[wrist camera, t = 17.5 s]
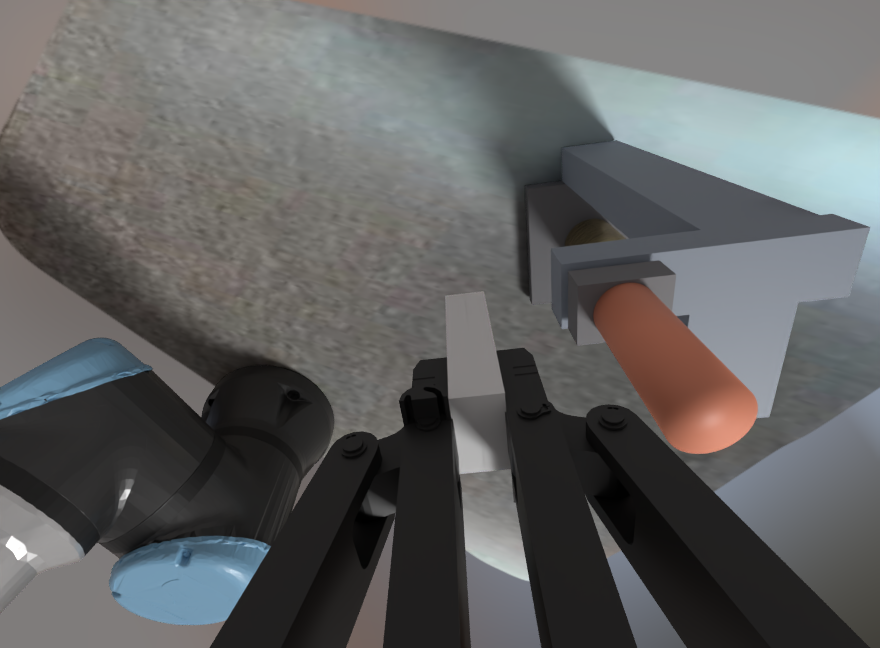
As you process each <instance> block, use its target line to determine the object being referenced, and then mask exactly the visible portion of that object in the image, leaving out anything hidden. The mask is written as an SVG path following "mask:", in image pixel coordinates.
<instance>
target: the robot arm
mask: <svg viewBox="0 0 880 648" xmlns="http://www.w3.org/2000/svg"><path fill="white" fill-rule="evenodd" d="M445 304H446V337H447V357H446V358H437V359H428V360H420V361H419V363H418V364H417V365H416V367H415V368H414V369H413V381H412V388H411V389H409V390H407V391H406V392H405V393H404V394H402V395H401V398H400V400H399V404H400V408H401V413H402V418H403V423H404V427H403V428H402V429H401V430H400V431H398V432H397V433H395V434H393V435H391V436H388V437H385V438H382V439H379V440H377V438H376V437H375V436H374V435H372V434H371V433H367V432H353V433H350V434H347V435H344V436H343V437H341V438H340V439H338V440H337V441H336V442H335V443H334V444H333V445H332V446H331V448H330V450H329V451H328V453H327V455H326V456H325V458H324V460H323V461H322V463H321V465H320V467H319V468H318V470H317V471H316V473H315V475H314V476H313V478H312V479H311V481H310V483H309V484H308V486H307V488H306V490H305V491H304V493H303V494H302V496H301V498H300V500H299V501H298V503H297V504H296V506H295V508H294V509H293V506H294V503H295V500H296V496H297V493H298V490H299V487H300V484H301V481H302V480H303V478H304V477H305V476H306V475H307V473H308V472H309V471H310V470H311V468H312V467H313V466H314V464H316V463H317V462H318V461H319V459H321V457H322V456H323V455H324V453H325V452H326V450H327V448H328V446H329V443H330V440H331V437H332V433H333V429H334V415H333V411H332V408H331V405H330V403H329V401H328V400H327V398H326V396H325V395H324V394H323V393H322V391H321V390H320V389H319V388H318V387H317V386H316V385H314V384H313V383H312V382H311V381H309V380H308V379H306V378H305V377H303V376H301V375H299V374H297V373H295V372H293V371H290V370H287V369H284V368H279V367H274V366H250V367H245V368H241V369H238V370H236V371H233V372H231V373H230V374H228V375H226V376H225V377H224V378H223V379H221V380H220V381H219V382H218V384H217V385H216V386H215V388H214V389H213V391H212V392H211V393H210V395H209V396H208V398H207V400H206V402H205V404H204V407H203V411H202V417H200V416H199V415H198V414H197V413H196V412H195V411H194V410H192V409H191V407H190V406H188V405H187V404H186V403H185V402H184V401H183V400H182V399H181V398H180V397H179V396H178V395H177V394H176V393H175V392H174V391H173V390H172V389H171V388H170V387H169V386H167V384H165V382H164V381H162V380H161V379H160V378H159V377H158V376H157V375H156V374H155V373H154V372H153V371H152V367H151V366H149V365H145V364H143V363H142V362H141V361H140V360H138V358H136V357H135V356H134V355H133V354H132V353H130V352H129V351H128V350H127V349H126V348H124V347H123V346H122V345H121V344H120V343H118V342H117V341H115V340H111V339H108V338H94V339H90V340H87V341H85V342H83V343H81V344H79V345H77V346H75V347H73V348H71V349H69V350H67V351H65V352H64V353H62V354H60V355H58V356H56V357H54V358H52V359H51V360H49V361H47V362H45V363H43V364H42V365H40V366H38V367H36V368H34V369H32V370H30V371H29V372H27V373H25V374H23V375H22V376H20V377H18V378H16V379H14V380H12V381H11V382H9V383H7V384H5V385H4V386H2V387H0V614H1V613H2V612H3V611H4V610H5V608H6V607H7V606H8V605H9V604H10V603H11V602H12V601H13V600H14V599H15V598H16V596H18V595H19V594H20V593H21V592H22V590H23V589H24V588H25V587H26V586H27V585H28V584H29V583H30V582H31V581H32V580H33V579H34V578H35V577H36V576H37V575H38V574H40V573H42V572H44V571H46V570H50V569H54V568H58V567H61V566H66V565H69V564H73V563H77V562H79V561H80V560H81V559H82V558H83V557H84V556H85V555H86V554H87V553H88V552H89V551H90V550H91V549H92V547H93V546H94V545H95V544H96V543H99V544H101V545H102V546H103V547H105V548H106V549H108V550H109V551H110V552H112V553H113V554H115V555H116V556H117V557H118V558H119V561H117V562H116V563H115V565H114V566H113V568H112V572H111V577H110V580H109V586H110V590H111V591H112V595H113V597H114V599H115V600H116V601H117V602H118V603H119V604H120V605H121V606H123V607H124V608H125V609H127V610H128V611H130V612H132V613H135V614H136V615H139V616H142V617H144V618H147V619H150V620H154V621H159V622H163V623H169V624H177V625H204V624H212V623H217V622H221V621H225V620H226V622H225V623H224V625H223V627H222V628H221V630H220V632H219V633H218V635H217V636H216V638H215V640H214V642H213V643H212V645H211V646H210V648H346V646H347V643H348V641H349V638H350V636H351V633H352V630H353V628H354V625H355V622H356V620H357V617H358V614H359V612H360V609H361V606H362V604H363V601H364V598H365V596H366V593H367V590H368V588H369V585H370V582H371V580H372V577H373V574H374V572H375V569H376V566H377V564H378V561H379V558H380V556H381V553H382V550H383V548H384V545H385V542H386V540H387V537H388V534H389V532H390V529H391V526H392V523H393V521H394V518H395V526H394V537H393V547H392V558H391V569H390V580H389V590H388V600H387V611H386V621H385V633H384V643H383V648H471V641H470V626H469V625H470V624H469V608H468V590H467V572H466V556H465V538H464V521H463V504H462V488H461V481H460V474H464V473H475V472H485V471H495V470H505V469H511V472H512V484H513V497H514V502H516V506H517V512H518V518H519V523H520V529H521V535H522V540H523V546H524V552H525V557H526V563H527V569H528V575H529V580H530V586H531V591H532V597H533V602H534V609H535V614H536V620H537V625H538V631H539V637H540V643H541V648H637V646H636V643H635V640H634V637H633V634H632V631H631V628H630V625H629V623H628V619H627V616H626V614H625V611H624V608H623V605H622V602H621V599H620V596H619V593H618V590H617V587H616V584H615V582H614V579H613V576H612V573H611V570H610V567H609V564H608V561H607V558H606V555H605V552H604V549H603V546H602V544H601V541H600V538H599V535H598V532H597V529H596V526H595V523H594V520H593V517H592V514H591V511H590V509H589V506H588V503H587V500H588V501H589V503H590V504H591V506H592V507H593V509H594V510H595V512H596V513H597V515H598V516H599V518H600V519H601V521H602V522H603V524H604V525H605V527H606V528H607V530H608V531H609V533H610V534H611V536H612V537H613V539H614V540H615V542H616V543H617V545H618V546H619V548H620V549H621V550H622V552H623V553H624V555H625V556H626V558H627V559H628V561H629V562H630V564H631V565H632V567H633V568H634V570H635V571H636V573H637V574H638V576H639V577H640V579H641V580H642V582H643V583H644V584H645V586H646V588H647V589H648V590H649V592H650V594H651V595H652V596H653V598H654V599H655V601H656V602H657V604H658V605H659V607H660V608H661V610H662V611H663V613H664V614H665V615H666V617H667V619H668V620H669V622H670V623H671V625H672V626H673V628H674V629H675V631H676V632H677V634H678V635H679V636H680V638H681V640H682V641H683V642H684V644H685V645H686V647H687V648H870V647H869V646H868V645H867V644H866V643H864V641H863V640H862V639H861V638H860V637H859V636H857V635H856V633H855V632H854V631H853V630H852V629H851V628H850V627H849V626H848V625H847V624H846V623H844V621H843V620H841V619H840V618H839V617H838V615H837V614H836V613H835V612H833V610H832V609H831V608H830V607H829V606H827V605H826V603H824V602H823V600H822V599H820V598H819V596H818V595H817V594H816V593H815V592H813V590H811V588H810V587H808V585H806V583H804V582H803V581H802V580H801V579H800V578H799V577H798V576H797V575H796V574H795V573H794V572H793V571H792V570H791V569H790V568H789V567H788V566H787V565H786V564H785V563H784V562H783V561H782V560H781V559H780V558H779V557H778V556H777V555H776V554H775V553H774V552H773V551H772V550H771V549H770V548H769V547H768V546H767V545H766V544H765V543H764V542H763V541H762V540H761V539H760V538H759V537H758V536H757V535H756V534H755V533H754V532H753V531H752V530H751V529H750V528H749V527H748V526H747V525H746V524H745V523H744V522H743V521H742V520H741V519H740V518H739V517H738V516H737V515H736V514H735V513H734V512H733V511H732V510H731V509H730V508H729V507H728V506H727V505H726V504H725V503H724V502H723V501H722V500H721V499H720V498H719V497H718V496H717V495H716V494H715V493H714V492H713V491H712V490H711V489H710V488H709V487H708V486H707V485H706V484H705V483H704V482H703V481H702V480H701V479H700V478H699V477H698V476H697V475H696V474H695V473H694V472H693V471H692V470H691V469H690V468H689V467H688V466H687V465H686V464H685V463H684V462H683V461H682V460H681V459H680V458H679V457H678V456H677V455H676V454H675V453H674V452H673V451H672V450H671V449H670V448H669V447H668V446H667V445H666V444H665V443H664V442H663V441H662V440H661V439H660V438H659V437H658V436H657V435H656V434H655V433H654V432H653V431H652V430H651V429H650V428H649V427H648V426H647V425H646V424H645V423H644V422H643V421H642V420H641V419H640V418H639V417H638V416H637V415H636V414H635V413H633V412H632V411H630V410H629V409H627V408H624V407H621V406H618V405H601V406H597V407H595V408H593V409H591V410H590V411H589V412H588V414H587V416H586V418H585V417H577V416H571V415H566V414H563V413H561V412H559V411H557V410H556V409H555V408H554V406H553V405H552V403H550V402H548V400H547V397H546V394H545V391H544V388H543V385H542V382H541V379H540V376H539V374H538V370H537V367H536V364H535V361H534V358H533V355H532V354H531V353H529V352H528V351H527V350H526V349H525V348H517V349H508V350H499V351H496V348H495V343H494V338H493V333H492V328H491V324H490V319H489V314H488V309H487V304H486V299H485V295H484V291H481V292H473V293H464V294H456V295H448V296H445ZM585 495H586V497H585ZM586 498H587V500H586ZM292 509H293V511H292ZM291 512H292V513H291ZM395 513H396V516H395Z"/></svg>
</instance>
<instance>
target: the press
mask: <svg viewBox="0 0 880 648" xmlns="http://www.w3.org/2000/svg"><path fill="white" fill-rule="evenodd" d="M525 197H526V221H527V245H528V269H529V293H530V301H531V303H532V305H536V304H544V303H552V310H553V312H554V314H555V316H556V318H557V321H558V323H559V325H560V327H561V329H566V328H568V271H573V270H582V269H590V268H598V267H607V266H615V265H624V264H632V263H640V262H649V261H657V260H660V261H661V262H662V263H663V264H664V265H666V266H667V267H668V268H669V269H670V270H672V271H673V272H674V273H675V274H676V282H675V290H674V299H673V308H672V312H673V313H674V314H675V315H676V316H677V317H678V318H679V319H680V320H681V321H682V322H683V323H684V324H685V325H686V326H687V327H688V328H689V329H690V330H691V331H692V332H693V333H694V334H695V336H696V337H697V338H698V339H699V340H700V341H701V342H702V343H703V344H704V345H705V346H706V347H707V348H708V349H709V350H710V351H711V352H712V353H713V354H714V355H715V356H716V357H717V358H718V359H719V360H720V361H721V362H722V363H723V364H724V365H725V366H726V367H727V368H728V369H729V370H730V371H731V372H732V373H733V374H734V375H735V376H736V377H737V378H738V379H739V380H740V381H741V382H742V383H743V384H744V385H745V386H746V387H747V388H748V389H749V390H750V391H751V392H752V393H753V395H754V396H755V398H756V400H757V404H758V412H757V417H756V418H763V417H770V413H771V409H772V405H773V401H774V397H775V393H776V389H777V385H778V381H779V377H780V373H781V369H782V365H783V361H784V357H785V353H786V349H787V345H788V341H789V337H790V333H791V329H792V325H793V321H794V318H795V314H796V310H797V306H798V302H806V301H815V300H824V299H833V298H842V297H849V295H850V292H851V289H852V285H853V282H854V279H855V276H856V272H857V269H858V266H859V262H860V259H861V256H862V253H863V249H864V246H865V243H866V240H867V236H868V233H869V230H870V227H868V226H865V225H862V224H860V223H857V222H854V221H851V220H848V219H845V218H843V217H840V216H837V215H834V214H828V215H818V214H815V213H812V212H810V211H807V210H804V209H802V208H799V207H796V206H793V205H791V204H788V203H785V202H783V201H780V200H777V199H774V198H772V197H769V196H766V195H764V194H761V193H758V192H755V191H753V190H750V189H747V188H744V187H742V186H739V185H736V184H734V183H731V182H728V181H725V180H723V179H720V178H717V177H715V176H712V175H709V174H706V173H704V172H701V171H698V170H696V169H693V168H690V167H687V166H685V165H682V164H679V163H677V162H674V161H671V160H668V159H666V158H663V157H660V156H658V155H655V154H652V153H649V152H647V151H644V150H641V149H639V148H636V147H633V146H630V145H628V144H625V143H622V142H620V141H617V140H616V141H609V142H601V143H594V144H586V145H579V146H571V147H564V148H562V181H557V182H549V183H542V184H534V185H526V186H525ZM588 219H601V220H604V221H606V222H607V223H609V224H610V225H611V226H612V227H613V228H615V229H616V230H617V231H618V232H619V233H620V234H621V235H623V236H624V237H625V238H626V239H623V240H615V241H606V242H598V243H590V244H582V245H574V246H565V241H566V238H567V236H568V234H569V232H570V231H571V230H572V229H573V228H574V227H575V226H576V225H577V224H579V223H580V222H582V221H585V220H588Z"/></svg>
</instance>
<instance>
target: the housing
mask: <svg viewBox="0 0 880 648" xmlns="http://www.w3.org/2000/svg"><path fill="white" fill-rule="evenodd" d="M623 239H626V238H625V237H624V236H623V235H621V234H620V233H619V232H618V231H617V230H616V229H615V228H613V227H612V226H611V225H610V224H609V223H607V222H606V221H604V220H601V219H588V220H585V221H582V222H580V223H579V224H577V225H576V226H575V227H574V228H573V229H572V230H571V231H570V232H569V234H568V236H567V238H566V241H565V246H574V245H582V244H590V243H598V242H606V241H615V240H623Z"/></svg>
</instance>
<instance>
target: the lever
mask: <svg viewBox="0 0 880 648" xmlns="http://www.w3.org/2000/svg"><path fill="white" fill-rule="evenodd" d="M675 282H676V274H675V273H674V272H673V271H672V270H670V269H669V268H668V267H667V266H666V265H664V264H663V263H662V262H661V261H660V260H657V261H649V262H640V263H632V264H624V265H615V266H607V267H598V268H590V269H582V270H573V271H568V329H569V331H570V333H571V335H572V337H573V338H574V340H575V342H576V344H577V346H579V345H588V344H597V343H607V345H608V346H609V348H610V350H611V351H612V353H613V354H614V356H615V358H616V359H617V361H618V362H619V364H620V365H621V367H622V369H623V370H624V372H625V373H626V375H627V377H628V378H629V380H630V381H631V383H632V385H633V386H634V388H635V389H636V391H637V393H638V394H639V396H640V397H641V399H642V400H643V402H644V404H645V405H646V407H647V408H648V410H649V412H650V413H651V415H652V416H653V418H654V420H655V421H656V423H657V424H658V426H659V427H660V429H661V431H662V432H663V434H664V435H665V437H666V439H667V440H668V442H669V443H670V444H671V445H672V446H674V447H675V448H677V449H678V450H681V451H683V452H687V453H693V454H704V453H711V452H715V451H718V450H721V449H724V448H726V447H728V446H730V445H732V444H734V443H735V442H737V441H738V440H739V439H741V438H742V437H743V436H744V435H745V434H746V433H747V432H748V431H749V430H750V428H751V427H752V425H753V424H754V422H755V420H756V417H757V412H758V404H757V400H756V398H755V396H754V395H753V393H752V392H751V391H750V390H749V389H748V388H747V387H746V386H745V385H744V384H743V383H742V382H741V381H740V380H739V379H738V378H737V377H736V376H735V375H734V374H733V373H732V372H731V371H730V370H729V369H728V368H727V367H726V366H725V365H724V364H723V363H722V362H721V361H720V360H719V359H718V358H717V357H716V356H715V355H714V354H713V353H712V352H711V351H710V350H709V349H708V348H707V347H706V346H705V345H704V344H703V343H702V342H701V341H700V340H699V339H698V338H697V337H696V336H695V334H694V333H693V332H692V331H691V330H690V329H689V328H688V327H687V326H686V325H685V324H684V323H683V322H682V321H681V320H680V319H679V318H678V317H677V316H676V315H675V314H674V313H673V312H672V308H673V299H674V290H675Z"/></svg>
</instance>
